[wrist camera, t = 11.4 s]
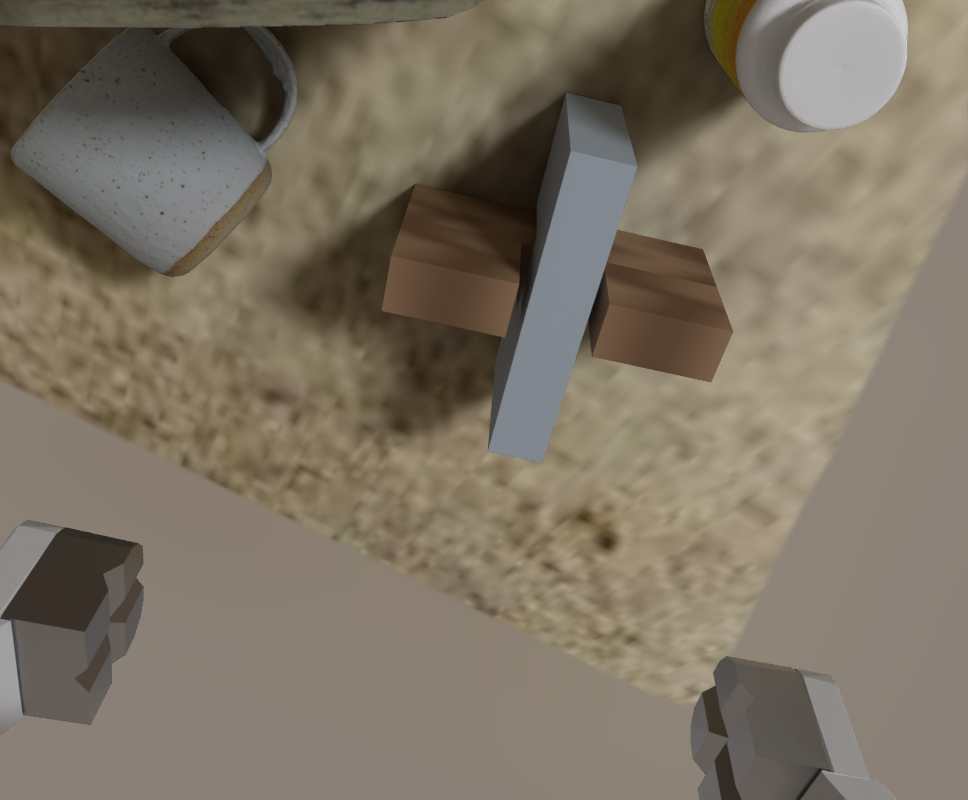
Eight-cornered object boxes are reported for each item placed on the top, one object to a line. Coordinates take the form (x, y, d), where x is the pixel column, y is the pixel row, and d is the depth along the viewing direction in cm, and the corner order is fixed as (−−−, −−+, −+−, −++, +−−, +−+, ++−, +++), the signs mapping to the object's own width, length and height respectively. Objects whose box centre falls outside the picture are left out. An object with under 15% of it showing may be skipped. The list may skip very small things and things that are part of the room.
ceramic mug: (202, 246, 43) (146, 319, 37) (61, 121, 40) (-27, 177, 34) (349, 101, 39) (314, 155, 33) (204, -52, 36) (134, -25, 30)
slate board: (565, 92, 38) (571, 151, 32) (621, 105, 39) (637, 166, 32) (495, 359, 46) (487, 451, 39) (541, 369, 46) (541, 462, 40)
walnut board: (406, 232, 42) (381, 310, 36) (415, 183, 41) (391, 255, 34) (685, 295, 43) (710, 382, 37) (703, 249, 42) (733, 331, 35)
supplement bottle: (706, 89, 38) (754, 169, 30) (696, -52, 35) (746, -7, 27) (841, 63, 37) (929, 138, 29) (842, -84, 34) (942, -49, 26)
